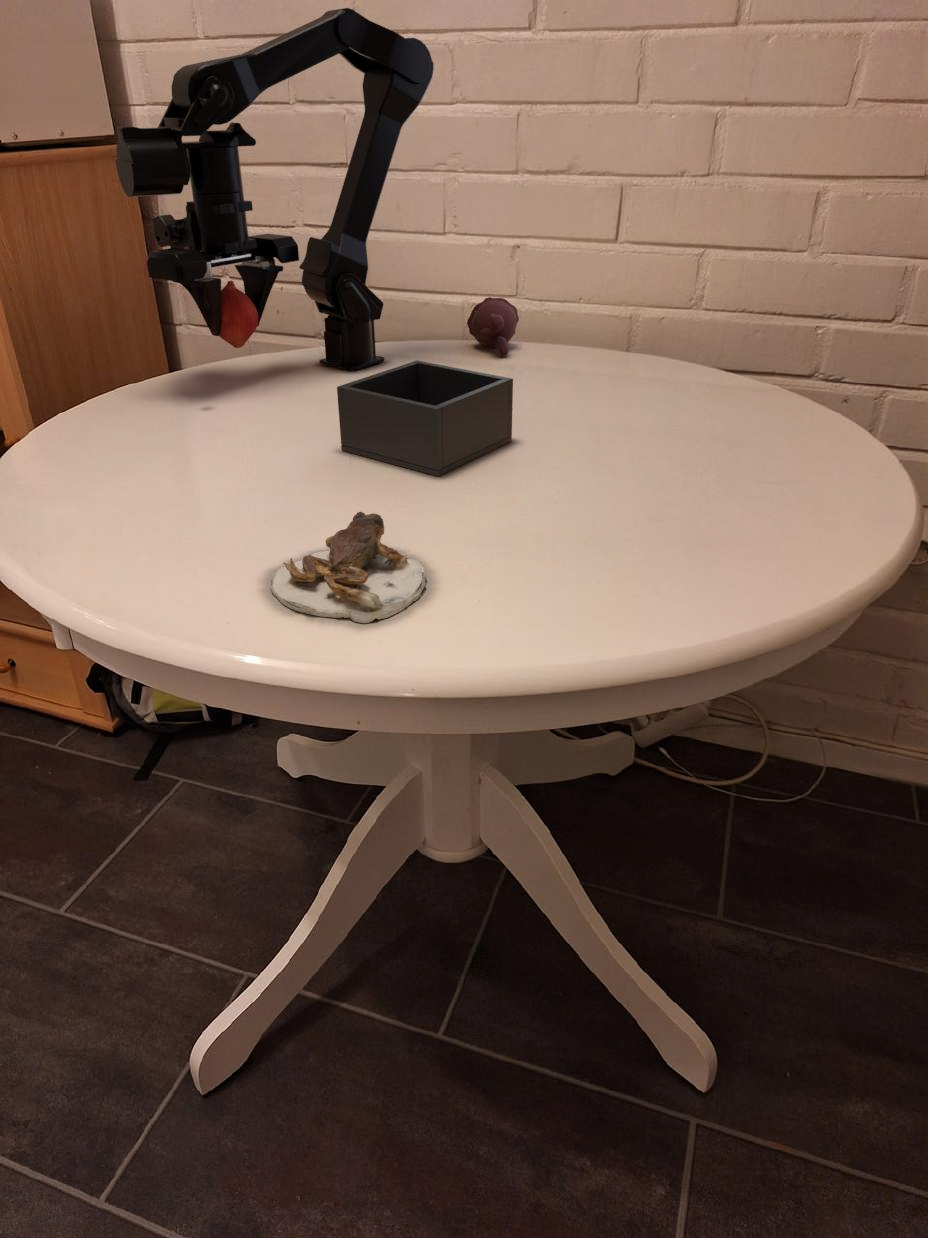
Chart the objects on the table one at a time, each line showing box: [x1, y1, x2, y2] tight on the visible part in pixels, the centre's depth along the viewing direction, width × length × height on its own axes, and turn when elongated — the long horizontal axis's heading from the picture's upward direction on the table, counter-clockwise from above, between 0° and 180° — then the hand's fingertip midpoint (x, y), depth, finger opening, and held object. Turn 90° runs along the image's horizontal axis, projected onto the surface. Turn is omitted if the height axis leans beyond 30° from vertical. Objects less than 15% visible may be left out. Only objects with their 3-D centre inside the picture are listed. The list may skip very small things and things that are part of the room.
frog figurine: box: [270, 511, 427, 624], centre depth 67 cm, size 12×12×4 cm
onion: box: [218, 280, 258, 349], centre depth 111 cm, size 6×6×8 cm
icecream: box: [466, 296, 520, 358], centre depth 129 cm, size 7×7×15 cm
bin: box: [336, 359, 514, 477], centre depth 92 cm, size 13×13×7 cm
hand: (235, 330), depth 112 cm, fingers closed on onion, 6 cm apart
